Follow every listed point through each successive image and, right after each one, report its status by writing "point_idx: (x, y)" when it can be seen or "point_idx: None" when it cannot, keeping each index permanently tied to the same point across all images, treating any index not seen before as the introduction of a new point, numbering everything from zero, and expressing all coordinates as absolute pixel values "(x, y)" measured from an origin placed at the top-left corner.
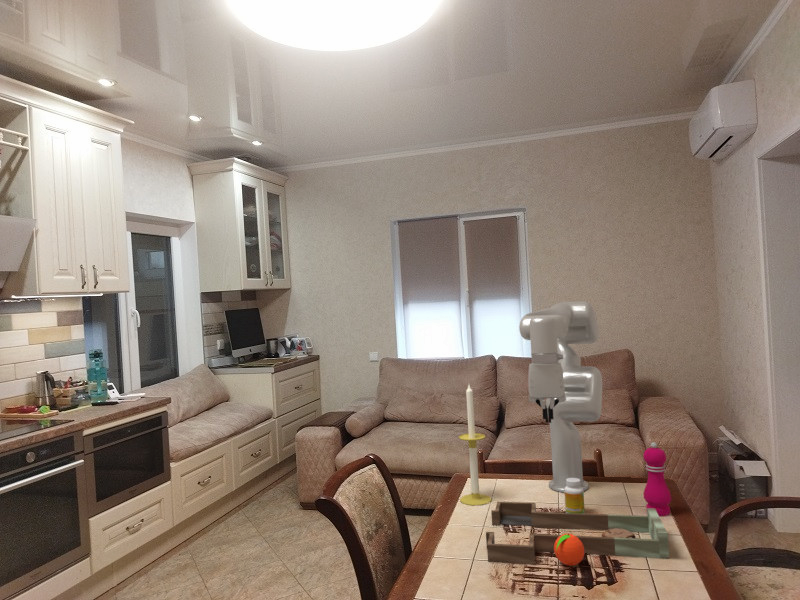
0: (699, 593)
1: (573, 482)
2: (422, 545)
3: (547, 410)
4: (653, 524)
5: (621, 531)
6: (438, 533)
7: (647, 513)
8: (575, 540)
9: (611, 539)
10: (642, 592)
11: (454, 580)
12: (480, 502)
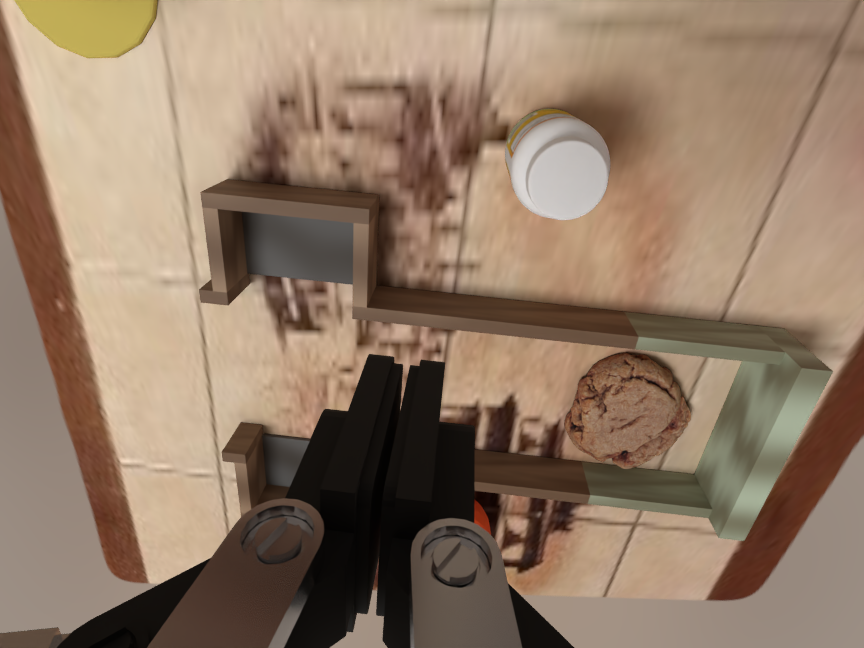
0: (688, 599)
1: (559, 219)
2: (63, 409)
3: (372, 555)
4: (745, 468)
5: (641, 412)
6: (71, 337)
7: (788, 366)
8: None
9: (579, 501)
10: (577, 593)
11: (205, 550)
12: (114, 26)
